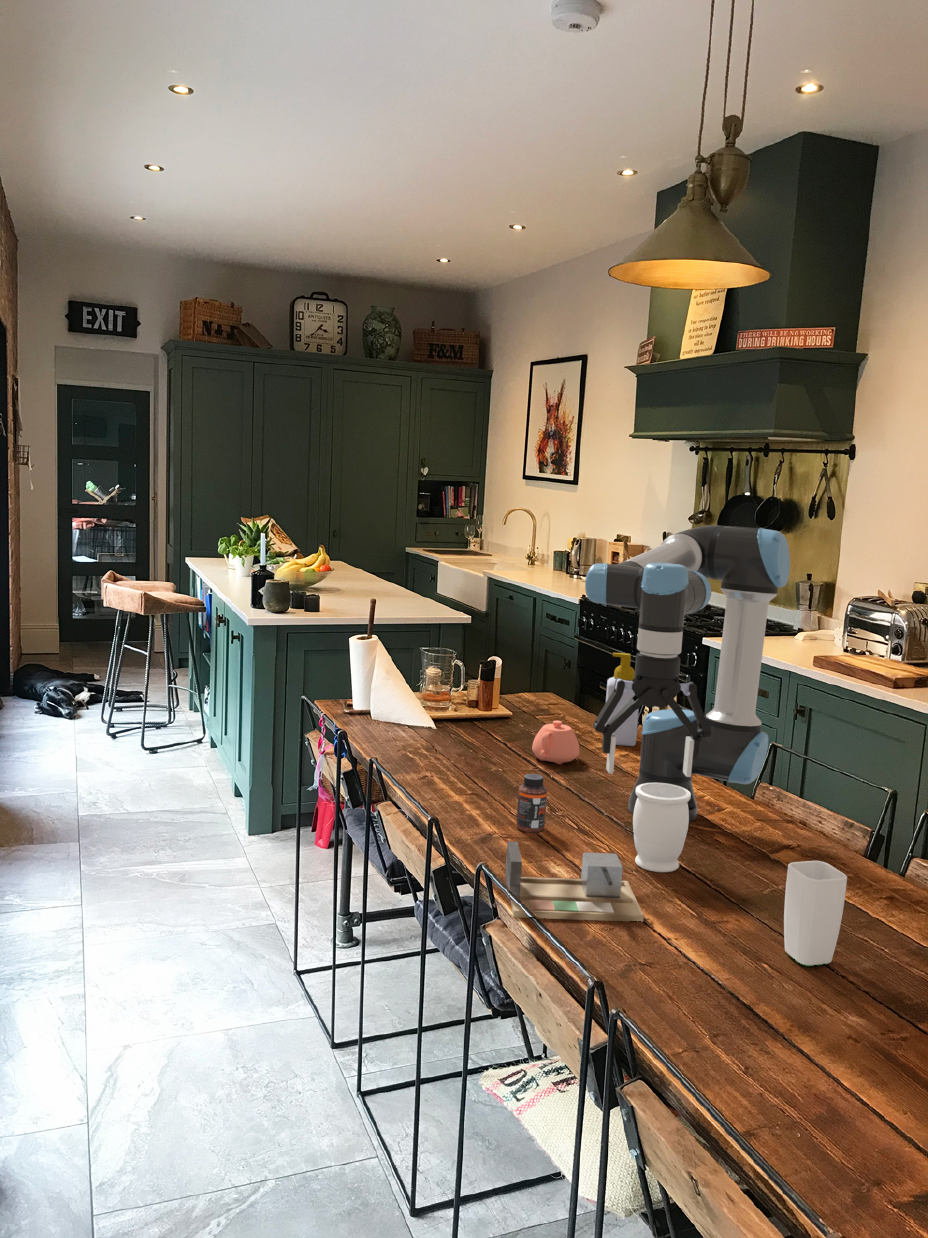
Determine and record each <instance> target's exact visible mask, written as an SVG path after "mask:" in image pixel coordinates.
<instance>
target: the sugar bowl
mask: <svg viewBox="0 0 928 1238" xmlns="http://www.w3.org/2000/svg"><path fill="white" fill-rule="evenodd" d="M531 749H532V752H533V754H534V755H535V757H536V758H537V759H538V760H539V761H545V762H549V763H550V762H551V763H555V764H556V765H563V764H564V763H568V762H572V761H574V760H575V759H576V758H578V756H579V755H580V745H579V741H578V738H577V736H576V734H575V732H574V730H573V729H572V727H571V726H569V725H567V724H563V721H561V720H553V721H552V723H547V724H544V725H542V727H541V728H540V729H539V731H538V733H537V734H536V735H535V736H534V739H533V742H532V747H531Z"/></svg>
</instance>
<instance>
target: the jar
mask: <svg viewBox="0 0 928 1238" xmlns="http://www.w3.org/2000/svg"><path fill="white" fill-rule="evenodd" d="M635 792H636V795H637V796H638V798H637V800H636V804H635V808H634V813H633V814H632V815H633V816H632V829H633V831H632V832H633V842H634V847H635V850H636V853H637V855H636V856H635V860H634V861H635V864H636V866H638V867H640V868H641V869H643V870H646V871H650V872H656V873H671V872H674V871H676V870H677V869H679V867H680V862H679V860H678V858H679V857H680V856H681V854H682V852H683V848H684V846H685V841H686V838H687V834H688V830H689V823H690V822H689V809H688V804H687V802H688V801H689V800H690V798H691V793H690V792H689V791H688V790H687V789H685V788H682V787H680V786H676V785H672V784H666V783H644V784H640V785H638V786H637V787H636V791H635Z"/></svg>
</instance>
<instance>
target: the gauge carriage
mask: <svg viewBox="0 0 928 1238" xmlns="http://www.w3.org/2000/svg"><path fill="white" fill-rule="evenodd" d="M581 859H582V861H581V863H582V864H581V875H580V879H581V887H582V889H583V892H584V895H585V897H602V898H620V894H621V882H622V881H623V880H622V879H623V869H624V867H623V865H622V862H621V860H620V859H619V857H618V855H617V853H609V852H607V853H606V852H605V853H604V852H603V853H602V852H585V851H584V852H582V858H581Z"/></svg>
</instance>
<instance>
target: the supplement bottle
mask: <svg viewBox="0 0 928 1238" xmlns="http://www.w3.org/2000/svg"><path fill="white" fill-rule="evenodd" d="M523 777H524V778H523V782H524V783H523V784H522V783H521V785H520V786H519V788H518V794H517V796H518V797H517V808H516V809H517V810H516V825H515V826H516V827H517V828H518V829H519V830H520V831H523V832H526V833H538V832H542V831H543V830H544V829H545V824H546V809H547V798H548V797H547V796H548V789H547V787H546V786H545V785H544V776H543V775H541V774H537V773H527V774H524V776H523Z"/></svg>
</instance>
